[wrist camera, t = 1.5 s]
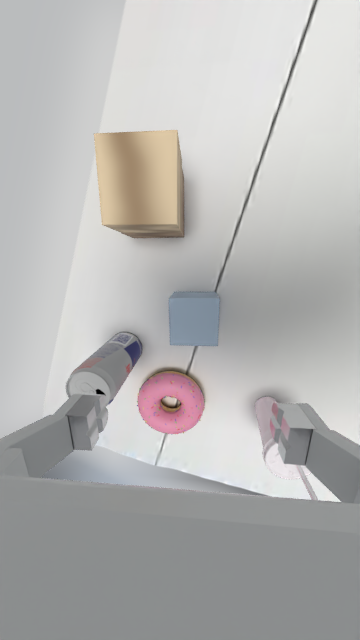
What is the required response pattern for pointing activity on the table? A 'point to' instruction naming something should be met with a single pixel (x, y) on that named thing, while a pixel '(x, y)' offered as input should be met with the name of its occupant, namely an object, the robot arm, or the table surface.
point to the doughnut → (170, 417)
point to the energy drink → (106, 367)
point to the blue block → (194, 318)
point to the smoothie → (271, 447)
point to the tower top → (140, 181)
